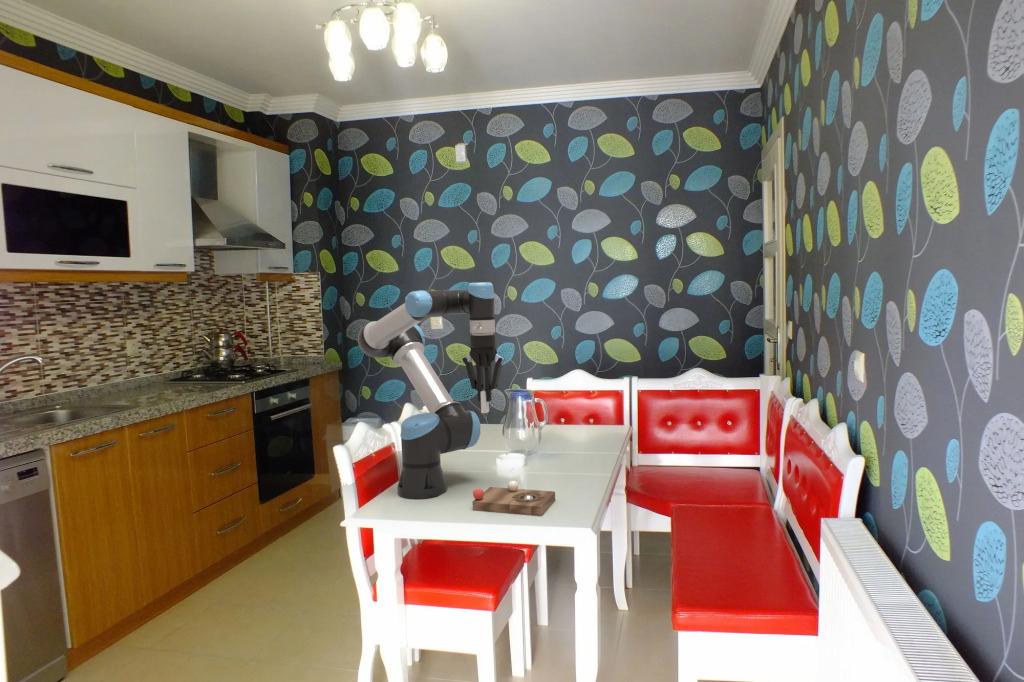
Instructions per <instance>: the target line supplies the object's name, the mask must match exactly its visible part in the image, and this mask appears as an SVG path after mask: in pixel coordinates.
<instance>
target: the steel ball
mask: <svg viewBox="0 0 1024 682" xmlns="http://www.w3.org/2000/svg"><path fill="white" fill-rule="evenodd" d="M532 499H534V498H533V497H532V496H531V495H526V496H525V497H524V498H523V500H532Z"/></svg>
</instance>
